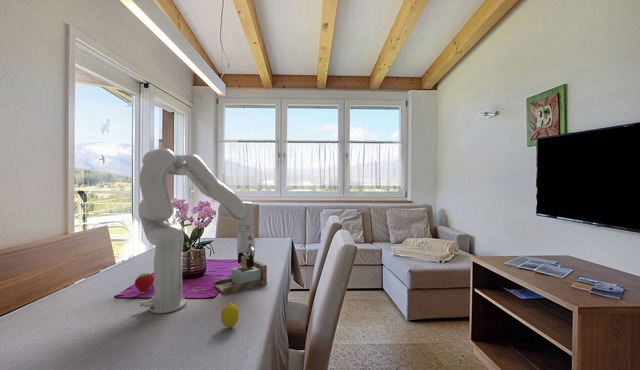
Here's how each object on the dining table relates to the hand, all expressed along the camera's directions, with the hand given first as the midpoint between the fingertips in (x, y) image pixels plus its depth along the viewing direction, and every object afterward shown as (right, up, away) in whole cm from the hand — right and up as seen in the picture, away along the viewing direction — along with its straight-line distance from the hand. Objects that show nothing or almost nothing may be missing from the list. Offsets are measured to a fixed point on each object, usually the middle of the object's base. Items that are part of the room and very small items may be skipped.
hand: (245, 265), depth 137 cm
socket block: (0, -8, 0) cm, 8 cm away
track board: (-2, -9, -2) cm, 9 cm away
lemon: (+5, -9, -42) cm, 43 cm away
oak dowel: (0, -6, 0) cm, 6 cm away
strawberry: (-41, -10, -11) cm, 43 cm away
